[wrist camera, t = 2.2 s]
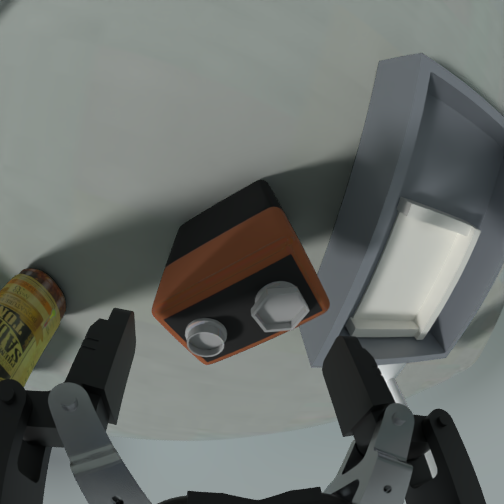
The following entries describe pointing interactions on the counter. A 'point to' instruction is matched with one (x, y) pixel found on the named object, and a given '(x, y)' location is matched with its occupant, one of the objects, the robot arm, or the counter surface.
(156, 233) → the counter surface
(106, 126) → the counter surface
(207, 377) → the counter surface
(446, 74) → the tray
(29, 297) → the sauce bottle
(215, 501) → the robot arm
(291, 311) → the battery
